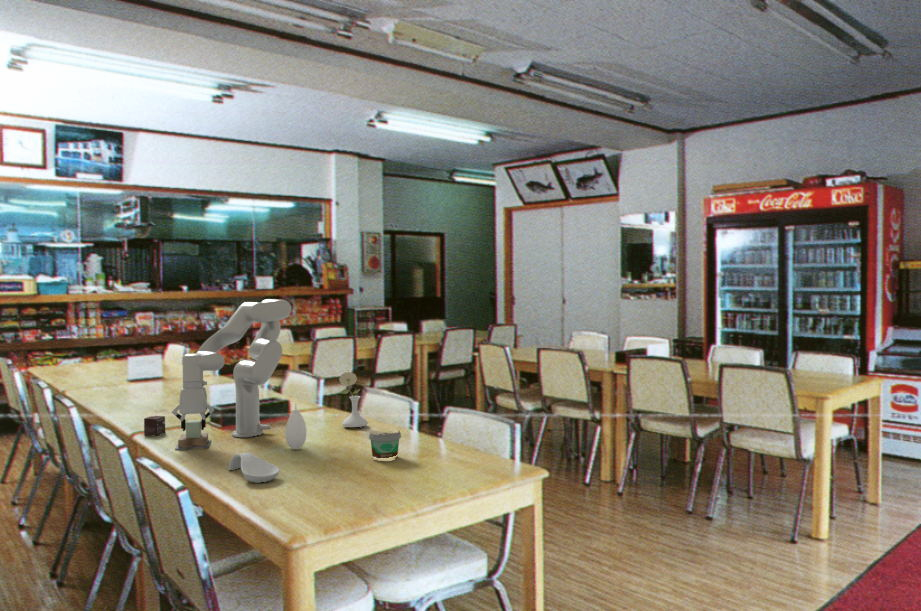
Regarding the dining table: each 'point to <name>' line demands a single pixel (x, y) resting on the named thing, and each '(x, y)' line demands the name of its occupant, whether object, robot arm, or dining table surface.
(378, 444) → the food container
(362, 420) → the flower in vase
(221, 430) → the dining table surface
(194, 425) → the block
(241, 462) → the spoon rest
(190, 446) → the plinth
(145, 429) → the box
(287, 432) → the sauce bottle
